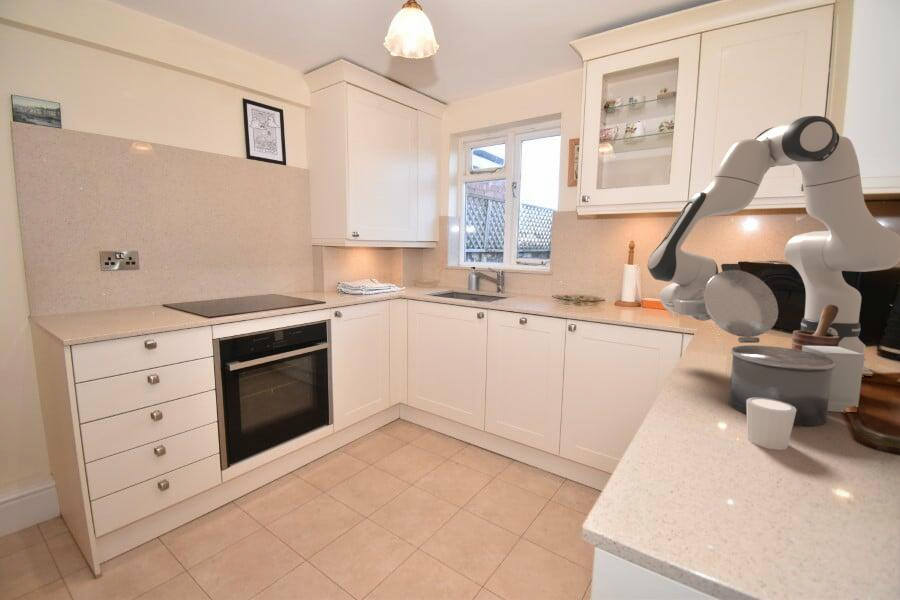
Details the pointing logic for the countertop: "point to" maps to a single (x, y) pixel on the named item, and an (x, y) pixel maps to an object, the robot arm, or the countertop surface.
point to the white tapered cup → (769, 422)
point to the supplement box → (842, 376)
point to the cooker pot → (782, 380)
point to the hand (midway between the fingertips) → (735, 311)
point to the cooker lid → (740, 303)
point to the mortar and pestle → (818, 332)
